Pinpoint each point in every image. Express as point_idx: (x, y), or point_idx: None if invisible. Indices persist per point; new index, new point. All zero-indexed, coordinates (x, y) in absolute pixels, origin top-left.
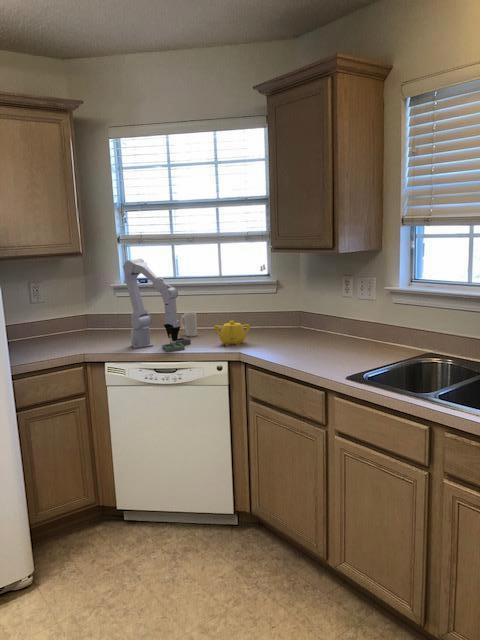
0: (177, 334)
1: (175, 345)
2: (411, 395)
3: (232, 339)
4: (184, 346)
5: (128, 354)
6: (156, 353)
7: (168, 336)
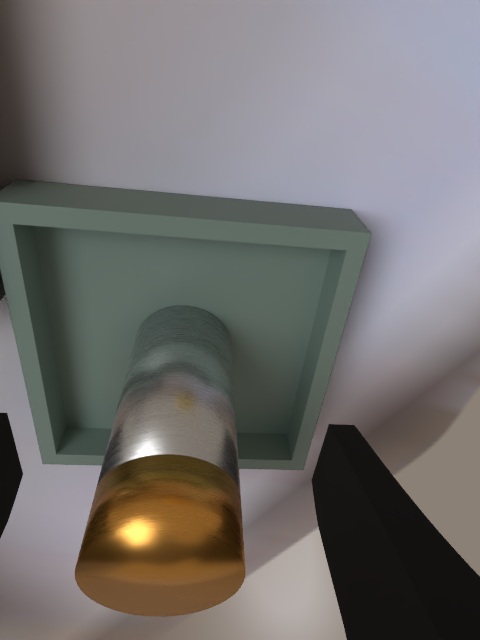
0: (449, 557)
1: (223, 346)
2: None
3: None
4: (368, 231)
5: (153, 630)
6: (275, 508)
7: (8, 517)
